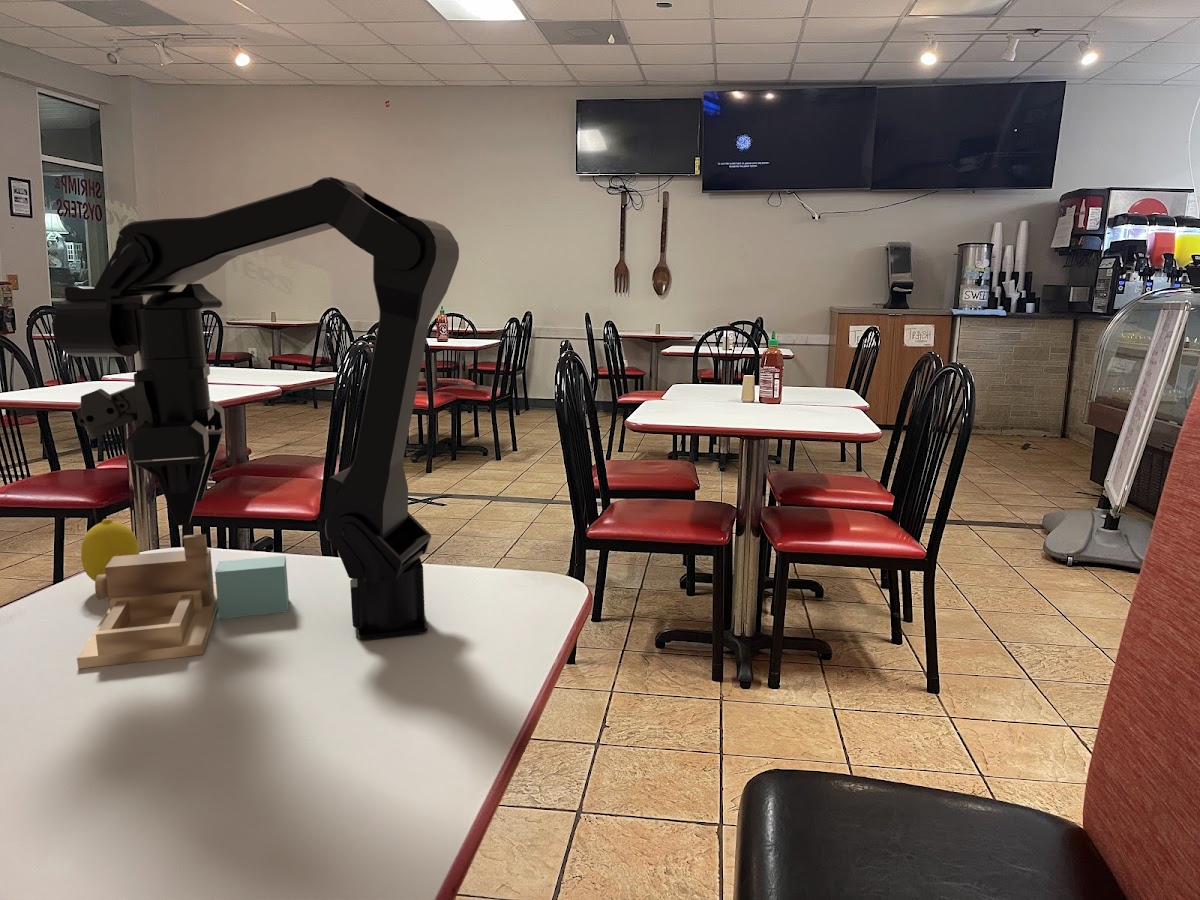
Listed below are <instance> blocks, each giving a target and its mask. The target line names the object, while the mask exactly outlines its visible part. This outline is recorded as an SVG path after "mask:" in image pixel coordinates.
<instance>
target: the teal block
mask: <svg viewBox="0 0 1200 900" xmlns="http://www.w3.org/2000/svg"><path fill="white" fill-rule="evenodd" d="M286 558H287V556H286V555H279V556H278V555H276V556H275V555H274V556H265V557H256V558H255V557H254V558H242V559H231V560H219V561H218V563H217V566H216V568H215V571H214V577H215V582H216V589H217V601H218V608H217V611H218V618H219V619H226V618H227V619H228V618H237V617H245V616H256V615H258V616H259V615H266V614H274V613H275V614H276V613H284V612H285V613H286V612H288V609H289V600H290V599H289V596H290V595H289V586H288V585H289V584H288V571H287V559H286Z"/></svg>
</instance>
